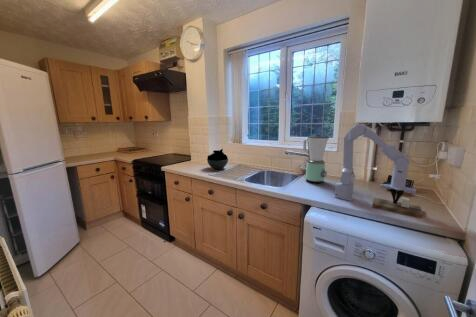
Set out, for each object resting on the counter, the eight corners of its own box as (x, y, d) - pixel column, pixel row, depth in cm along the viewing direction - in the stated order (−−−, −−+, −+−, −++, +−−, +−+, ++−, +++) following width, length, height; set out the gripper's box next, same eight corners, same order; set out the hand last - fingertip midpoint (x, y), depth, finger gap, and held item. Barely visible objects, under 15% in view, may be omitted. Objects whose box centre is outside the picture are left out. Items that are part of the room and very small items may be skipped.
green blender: (329, 181, 150) (333, 135, 143) (321, 186, 141) (325, 136, 134) (305, 176, 163) (308, 134, 157) (297, 180, 154) (299, 135, 147)
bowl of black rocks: (212, 172, 178) (211, 152, 174) (204, 168, 195) (203, 149, 191) (231, 169, 187) (231, 150, 183) (223, 165, 204) (222, 147, 201)
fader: (401, 207, 101) (402, 200, 101) (401, 203, 105) (402, 197, 105) (408, 208, 100) (410, 202, 99) (408, 205, 104) (409, 198, 103)
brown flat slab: (372, 207, 107) (372, 203, 106) (373, 200, 115) (374, 197, 115) (422, 218, 95) (422, 214, 94) (419, 210, 103) (420, 206, 103)
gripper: (381, 177, 103) (377, 202, 106) (418, 183, 95) (413, 209, 97) (381, 174, 109) (378, 198, 112) (417, 179, 100) (412, 204, 103)
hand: (394, 203), depth 105 cm, fingers closed
